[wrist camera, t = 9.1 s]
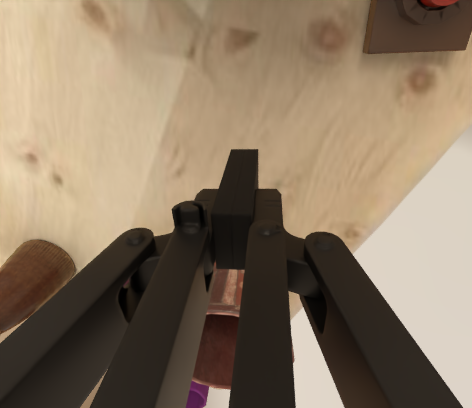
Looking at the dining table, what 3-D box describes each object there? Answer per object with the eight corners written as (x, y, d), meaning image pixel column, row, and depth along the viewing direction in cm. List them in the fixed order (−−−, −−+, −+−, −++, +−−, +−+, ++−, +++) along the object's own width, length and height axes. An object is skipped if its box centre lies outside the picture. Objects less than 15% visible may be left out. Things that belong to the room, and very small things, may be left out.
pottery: (253, 306, 59) (247, 405, 44) (174, 269, 56) (138, 361, 40) (307, 250, 50) (323, 349, 35) (217, 202, 47) (191, 288, 32)
